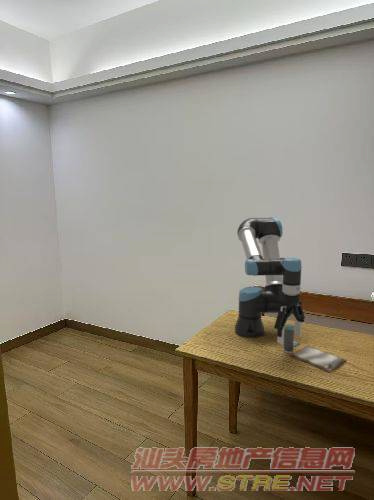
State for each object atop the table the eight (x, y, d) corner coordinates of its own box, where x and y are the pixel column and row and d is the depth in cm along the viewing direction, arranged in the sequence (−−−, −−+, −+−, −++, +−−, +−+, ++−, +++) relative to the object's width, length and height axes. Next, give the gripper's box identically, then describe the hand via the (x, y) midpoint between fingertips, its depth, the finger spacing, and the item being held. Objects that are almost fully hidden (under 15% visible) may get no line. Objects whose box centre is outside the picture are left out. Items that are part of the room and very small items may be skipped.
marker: (282, 351, 151) (283, 325, 149) (287, 348, 154) (288, 323, 152) (289, 354, 148) (290, 328, 146) (294, 351, 151) (296, 326, 149)
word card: (285, 344, 158) (285, 343, 158) (292, 340, 162) (292, 339, 162) (292, 347, 155) (292, 346, 155) (299, 343, 159) (300, 342, 159)
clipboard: (290, 356, 147) (290, 352, 147) (307, 346, 156) (307, 343, 155) (329, 372, 133) (330, 368, 133) (346, 361, 142) (346, 357, 142)
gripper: (281, 300, 136) (279, 349, 139) (314, 289, 151) (311, 334, 155) (266, 296, 141) (265, 344, 145) (299, 286, 157) (297, 329, 160)
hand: (289, 339), depth 150 cm, fingers open, 13 cm apart
